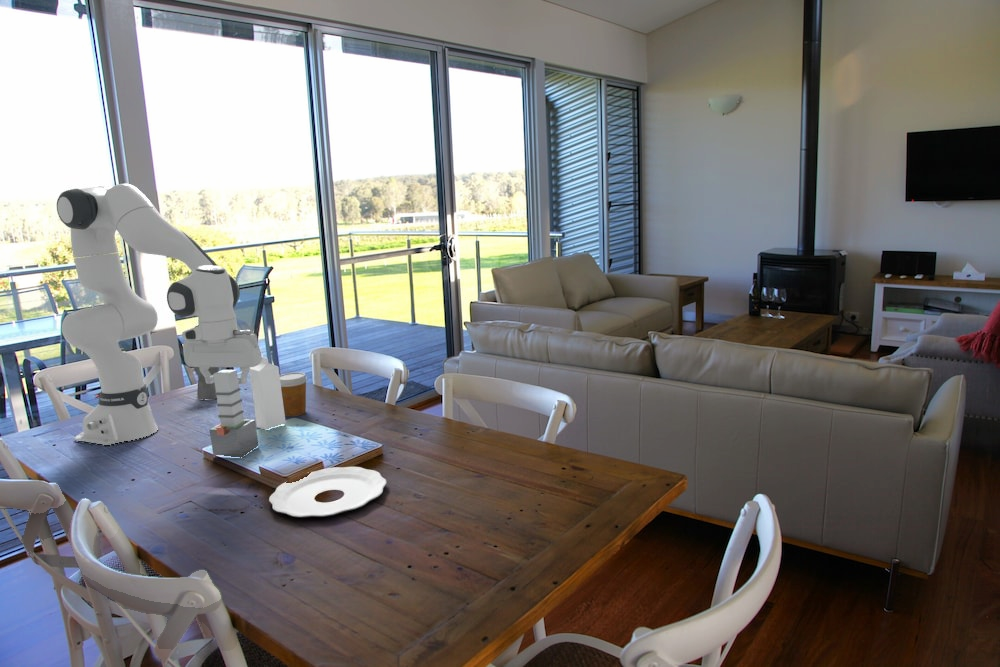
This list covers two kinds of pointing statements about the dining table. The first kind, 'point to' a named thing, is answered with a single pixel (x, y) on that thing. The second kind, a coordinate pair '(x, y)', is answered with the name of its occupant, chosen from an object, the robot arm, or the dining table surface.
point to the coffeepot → (203, 388)
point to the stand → (234, 439)
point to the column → (228, 399)
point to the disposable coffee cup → (293, 393)
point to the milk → (267, 395)
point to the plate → (301, 493)
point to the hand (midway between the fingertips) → (226, 383)
